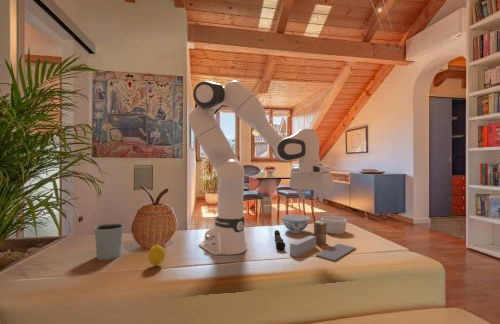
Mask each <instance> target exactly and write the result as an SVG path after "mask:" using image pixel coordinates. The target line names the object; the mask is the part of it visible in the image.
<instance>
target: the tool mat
mask: <svg viewBox="0 0 500 324" xmlns="http://www.w3.org/2000/svg"><path fill="white" fill-rule="evenodd" d="M356 249H357V248H356V247H354V246H351V245H350V246H349V245H346V244H341V243H337V244H335V245H333V246H331V247H329V248H326V249H325V250H322V251H321V252H319V253H317V254H316V255H315V257H316V258H321V259H324V260H327V261H331V262H336V261H338V260H340V259H341V257H342V258H344V256H347V255H348V254H350V253H351V252H353V251H355V250H356Z"/></svg>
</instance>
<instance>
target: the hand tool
mask: <svg viewBox="0 0 500 324" xmlns="http://www.w3.org/2000/svg"><path fill="white" fill-rule="evenodd" d="M274 242H275V250H276V251H278V252H279V251H280V252H283V251H285V249H286V243H285V242H284V239H283V238H282V236H281V232H280V231H279V230H278V229H276V230H274Z"/></svg>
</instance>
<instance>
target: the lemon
mask: <svg viewBox="0 0 500 324" xmlns="http://www.w3.org/2000/svg"><path fill="white" fill-rule="evenodd" d="M165 254H166V253H165V249H164V247H163V246H162V245H161V244H160V245H159V244H158V243H157V244H155V245H152V246H151V247H150V249H149V252H148V261H149V263H150V264H151V265H153V266H155V267H158V266H159V265H160V264H162V263H163V261H164V259H165V256H166V255H165Z"/></svg>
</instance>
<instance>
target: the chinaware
mask: <svg viewBox="0 0 500 324" xmlns="http://www.w3.org/2000/svg"><path fill="white" fill-rule="evenodd" d="M281 220H282V223H283V225H284V227H285V228H286V229H287V230H288V231H289V232H290V233H294V234H300V233H302V232H303V230H305V229H306V228H307V227H308V225H309V223H310V221H311V217H310V216H309V215H306V214H305V215H304V214H295V213H290V214H289V213H287V214H283V215H281Z"/></svg>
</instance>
